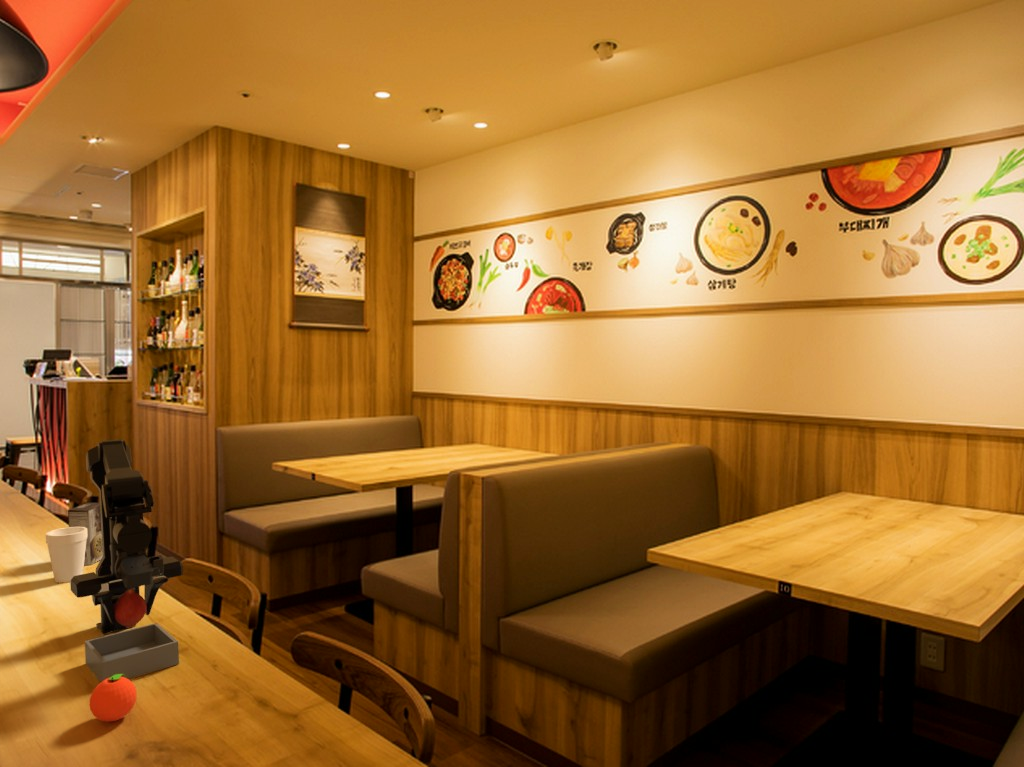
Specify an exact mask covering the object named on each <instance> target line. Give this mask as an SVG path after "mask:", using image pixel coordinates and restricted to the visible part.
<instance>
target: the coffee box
mask: <svg viewBox="0 0 1024 767" xmlns="http://www.w3.org/2000/svg"><path fill="white" fill-rule="evenodd" d="M67 516H68V518H67V519H68V527H85V528H87V533H88V537H87V540H86V550H85V560H84V566H92V565H94V564H96V563H98V562H100V561H99V560H101V559H102V557H103V548H102V531H101V514H100V502H86V503H83V504H80V505H77V506H75V507H72V508H69V509H68V510H67ZM97 561H98V562H97ZM95 562H96V563H95Z"/></svg>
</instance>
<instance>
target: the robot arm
mask: <svg viewBox="0 0 1024 767" xmlns="http://www.w3.org/2000/svg"><path fill="white" fill-rule="evenodd" d="M131 449H132V448H131V446H129V445H126V441H125V440H122V439H109V440H102V441H100V442H98V443H97V445H96V446H93V447H92V448H90V449H88V450H87V451H86V455H85V469H86V473H89V478H90V480H91V482H92V483H93V484H94V486H95V487H96V488H97V489H98V491H99V492H98V495H99V503H100V514H101V531H102V548H103V557H102V559H101V560H100V561H98V564H97V566H96V567H95V572H94V571H92V572H87V573H83V574H82V575H77V576H74V577H73V578H72V579H71V582H69V583H70V591H71V593H72V594H73V595H74V596H75V597H77V598H86V597H89V596H91V599H92V603H93V606H94V607H96V606H99V605H100V622H97V623H96V627H97V629H98V630H100V632H101V633H103V634H108V633H109V634H110V633H113V632H117V631H120V630H124V629H129V628H128V627H126V626H123V625H121V624H119V623H118V622H117V621H116V620H115V616H114V610H113V607H114V604H115V603H116V601H117V600H118V598H119V597H120V596H121V595H122V594H124V593H125V592H126V591H127V590H128V589H133V591H134V592H135V593H138V594H139V595H141V594H140V587H142V586H144V590H143V592H144V597H143V599H144V600H145V602H146V605H147V610H146V613H145V615H146V616H149V615H150V613H151V611H152V609H153V605H154V602H155V599H156V595H157V593H158V591H159V590H160V588H161V587H162V585H164V584H165V583H168V582H169V579H171V578H175V577H181V576H183V575H184V566H183V563H182V561H180V560H178V559H177V558H175V557H174V556H167V557H163V556H162V555H155V556H148V555H147V551H146V550H147V547H149V545H150V543H151V542H152V538H153V533H152V530H151V528H150V527H149V525H148V524H147V523H146V521H145V519H144V514H146V513H152V512H153V511H152V509H153V508H152V507H154V498H153V493H152V488H151V485H150V484H149V481H148V480H146V479H145V478H144V476H143V474H142V473H141V471H139V470H137V469H133V468H132V463H133V461H132V450H131ZM136 626H137V624H136V625H135V626H134V627H136Z"/></svg>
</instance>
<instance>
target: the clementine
mask: <svg viewBox="0 0 1024 767" xmlns="http://www.w3.org/2000/svg"><path fill="white" fill-rule="evenodd" d="M121 676H124V677H121ZM136 688H137V687H136V686H135V685H134V682H132V681H131V679H127V678H126V676H125V674H116V675H113V676H112V677H110V678H107V679H105V680H104V681H102V682H101V683H100V682H99V683H98V684H97V685H96V686H95V688H94V689H93V690H92V692H91V695H90V697H89V709H90V711H91V713H92V715H93V716H94V717H95V718H97V720H99V721H103V722H106V723H107V722H115V721H119V720H121V719H122V718H124V717H126V715H128V714H129V713H130V712H131V710H132V709H133V708H134V706H135V704H136V702H137V689H136Z"/></svg>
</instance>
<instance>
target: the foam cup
mask: <svg viewBox="0 0 1024 767" xmlns="http://www.w3.org/2000/svg"><path fill="white" fill-rule="evenodd" d="M87 537H88V533H87V528H85V527H69V526H68V527H62V528H56V529H51V530H49V531H47V532H46V533H45V544H47V548H48V549H47V550H48V554H49V559H50V565H51V568H52V573H53V578H54V582H55V581H56V582H55V583H57V582H59V583H60V582H61V583H60V584H63V583H62V582H67V583H70V582H71V579H72V578H73V577H74V576H77V575H82V574H84V568H85V565H84V560H85V550H86V540H87ZM59 583H58V584H59Z"/></svg>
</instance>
